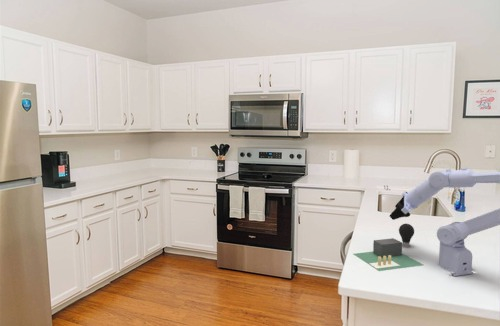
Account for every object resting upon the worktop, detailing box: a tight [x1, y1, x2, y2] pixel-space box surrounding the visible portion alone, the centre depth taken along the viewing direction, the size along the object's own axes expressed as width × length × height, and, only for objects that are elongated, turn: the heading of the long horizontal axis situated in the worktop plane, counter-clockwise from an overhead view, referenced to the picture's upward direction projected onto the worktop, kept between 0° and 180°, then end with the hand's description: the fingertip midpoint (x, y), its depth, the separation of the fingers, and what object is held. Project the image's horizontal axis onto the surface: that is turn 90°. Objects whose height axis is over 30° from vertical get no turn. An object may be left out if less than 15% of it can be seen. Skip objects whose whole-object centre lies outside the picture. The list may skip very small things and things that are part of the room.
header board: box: [353, 251, 424, 272], centre depth 124 cm, size 16×18×4 cm
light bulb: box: [398, 223, 415, 248], centre depth 138 cm, size 6×6×10 cm
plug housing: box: [372, 237, 403, 258], centre depth 129 cm, size 5×9×5 cm, turn 105°
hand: (394, 212), depth 134 cm, fingers open, 7 cm apart
